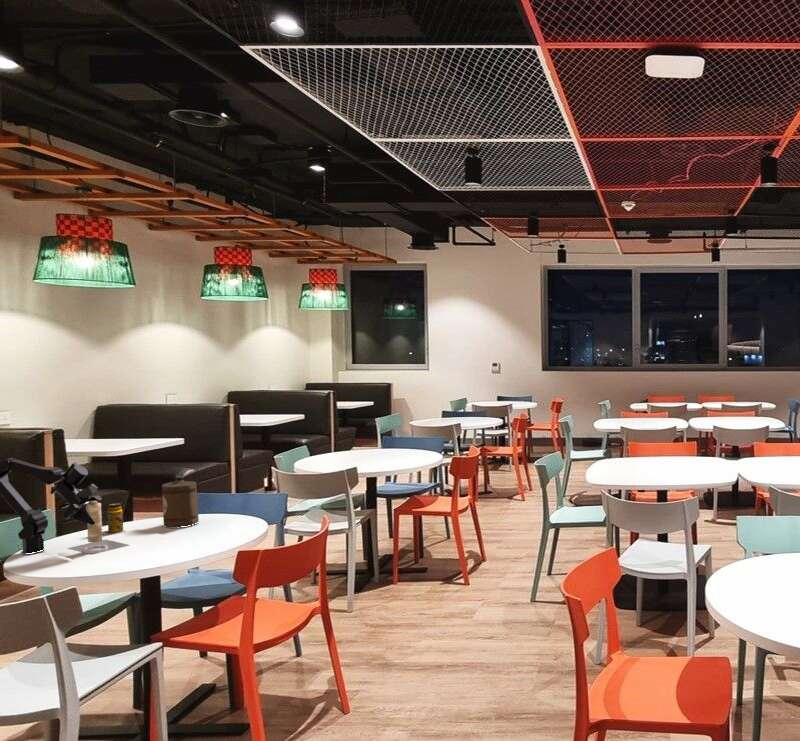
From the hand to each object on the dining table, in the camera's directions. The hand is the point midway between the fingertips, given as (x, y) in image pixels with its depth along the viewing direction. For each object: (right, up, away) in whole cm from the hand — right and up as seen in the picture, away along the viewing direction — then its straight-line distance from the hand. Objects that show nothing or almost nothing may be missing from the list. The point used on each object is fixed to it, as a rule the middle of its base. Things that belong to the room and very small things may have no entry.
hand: (97, 522), depth 280 cm
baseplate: (-2, -11, +6) cm, 13 cm away
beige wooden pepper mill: (-1, -7, 0) cm, 7 cm away
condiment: (-7, -12, +35) cm, 37 cm away
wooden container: (+18, -10, +45) cm, 50 cm away
